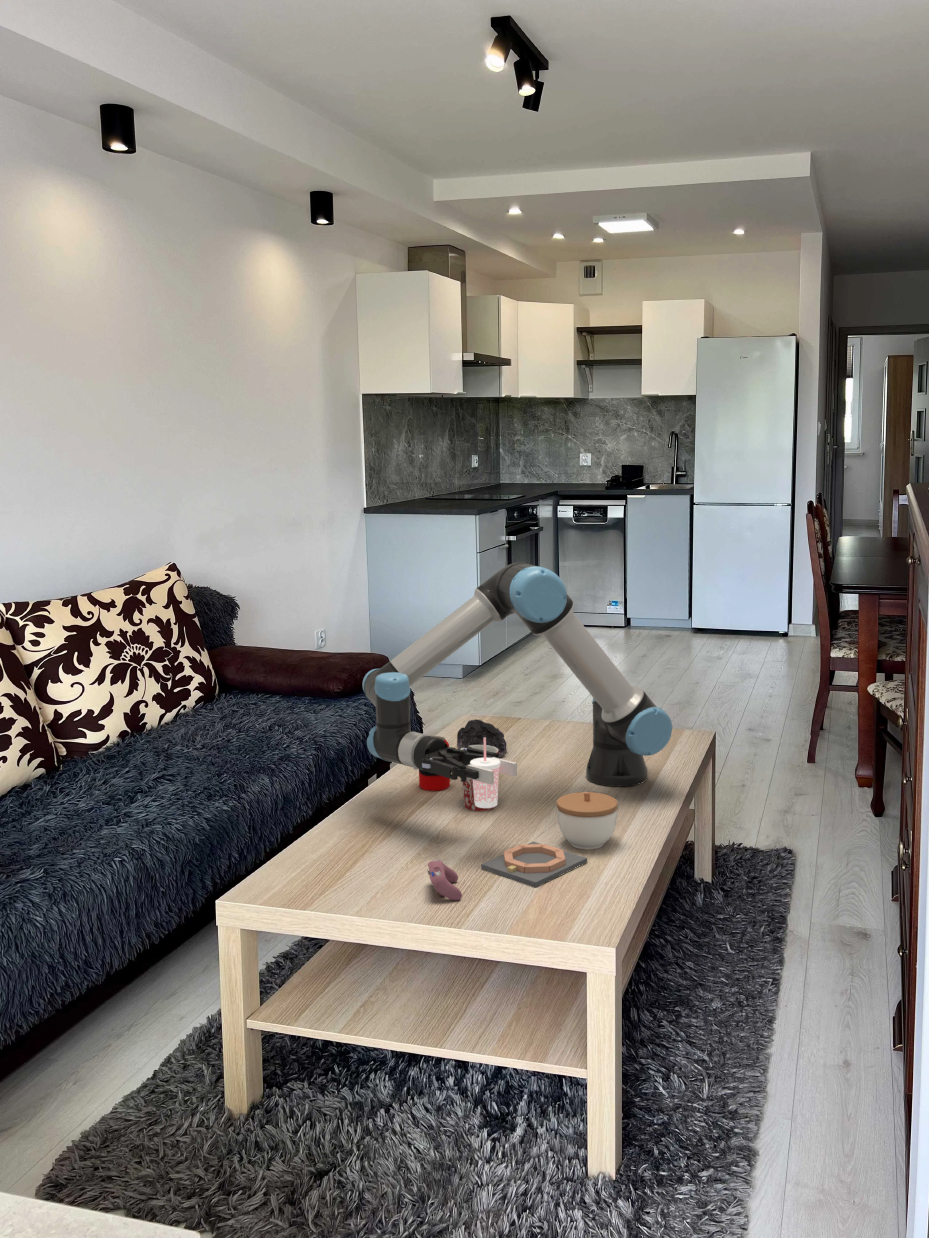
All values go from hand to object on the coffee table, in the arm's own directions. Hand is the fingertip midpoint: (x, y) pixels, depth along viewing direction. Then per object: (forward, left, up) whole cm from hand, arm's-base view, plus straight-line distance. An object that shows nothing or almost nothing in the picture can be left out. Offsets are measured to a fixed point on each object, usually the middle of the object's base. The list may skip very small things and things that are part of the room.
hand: (504, 773), depth 216 cm
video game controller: (+20, +2, -18) cm, 27 cm away
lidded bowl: (-17, +7, -18) cm, 26 cm away
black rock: (-52, -54, -18) cm, 77 cm away
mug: (-22, -26, -18) cm, 39 cm away
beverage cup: (0, -5, -8) cm, 9 cm away
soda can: (-24, -44, -18) cm, 53 cm away
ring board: (-1, +7, -18) cm, 19 cm away
